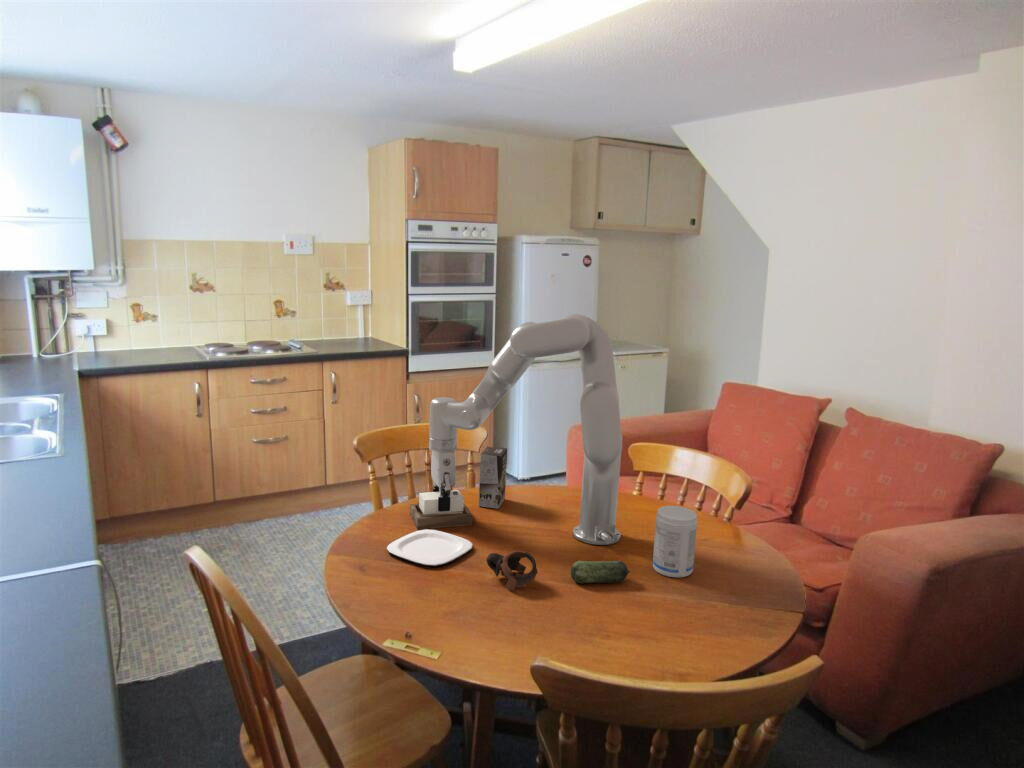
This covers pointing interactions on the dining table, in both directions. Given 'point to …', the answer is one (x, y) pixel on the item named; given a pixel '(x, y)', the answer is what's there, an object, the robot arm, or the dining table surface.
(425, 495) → the white foam brick
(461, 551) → the plate
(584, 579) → the vegetable
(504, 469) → the coffee box
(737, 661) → the dining table surface
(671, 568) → the supplement tub
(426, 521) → the brown wooden tray
